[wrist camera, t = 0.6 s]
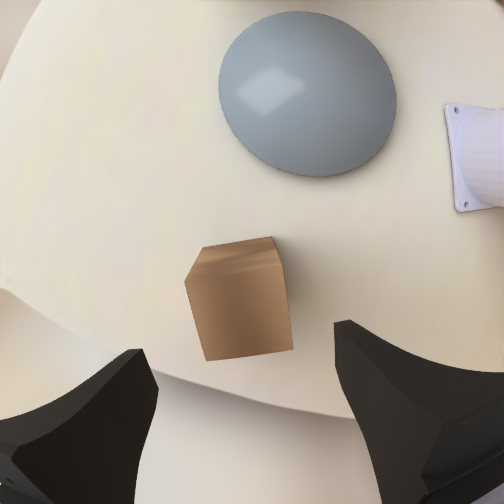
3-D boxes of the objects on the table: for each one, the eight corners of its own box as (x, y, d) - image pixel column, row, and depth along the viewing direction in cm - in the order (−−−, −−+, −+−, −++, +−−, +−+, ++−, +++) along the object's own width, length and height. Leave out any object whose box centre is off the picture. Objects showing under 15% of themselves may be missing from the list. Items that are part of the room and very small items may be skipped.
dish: (369, 19, 15) (374, 14, 14) (401, 167, 18) (408, 168, 17) (208, 28, 15) (206, 21, 14) (235, 188, 18) (235, 189, 17)
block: (271, 236, 19) (282, 266, 13) (281, 299, 20) (293, 349, 14) (202, 247, 19) (184, 281, 13) (216, 309, 20) (206, 361, 14)
